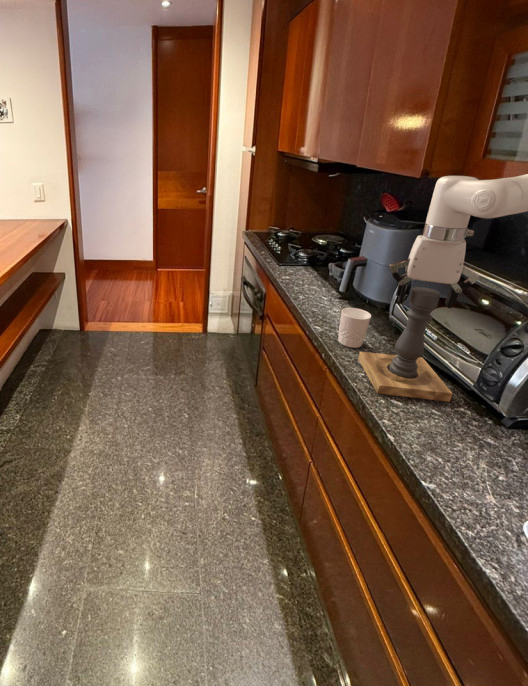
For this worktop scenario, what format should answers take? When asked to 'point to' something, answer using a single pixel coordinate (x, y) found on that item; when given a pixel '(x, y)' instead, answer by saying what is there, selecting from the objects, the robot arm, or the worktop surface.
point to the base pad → (391, 384)
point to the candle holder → (414, 332)
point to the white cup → (353, 327)
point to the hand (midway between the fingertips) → (423, 302)
